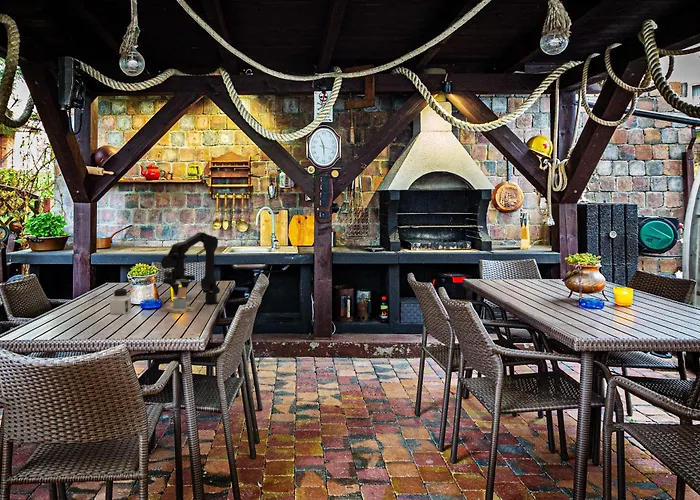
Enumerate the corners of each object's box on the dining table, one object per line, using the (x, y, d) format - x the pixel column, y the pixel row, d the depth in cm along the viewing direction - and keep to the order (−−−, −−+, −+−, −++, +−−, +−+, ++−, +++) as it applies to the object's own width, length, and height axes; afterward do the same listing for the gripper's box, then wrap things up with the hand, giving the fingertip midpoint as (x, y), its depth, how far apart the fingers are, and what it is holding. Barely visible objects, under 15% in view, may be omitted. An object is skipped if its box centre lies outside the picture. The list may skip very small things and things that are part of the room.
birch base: (180, 307, 310) (180, 304, 310) (198, 309, 304) (198, 306, 303) (161, 311, 298) (160, 308, 298) (179, 313, 291) (179, 310, 291)
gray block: (180, 306, 304) (179, 297, 304) (186, 307, 302) (186, 298, 301) (173, 307, 300) (173, 298, 299) (179, 308, 297) (179, 299, 297)
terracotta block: (179, 295, 303) (179, 286, 303) (186, 296, 301) (186, 287, 301) (173, 297, 299) (172, 288, 299) (179, 297, 297) (179, 288, 296)
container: (131, 311, 296) (130, 288, 295) (123, 314, 288) (123, 290, 287) (117, 311, 297) (116, 287, 296) (110, 314, 289) (109, 289, 288)
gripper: (180, 264, 311) (181, 291, 312) (155, 267, 294) (155, 296, 296) (195, 265, 305) (196, 293, 307) (170, 268, 289) (170, 297, 290)
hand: (179, 294), depth 300 cm, fingers closed on terracotta block, 5 cm apart
